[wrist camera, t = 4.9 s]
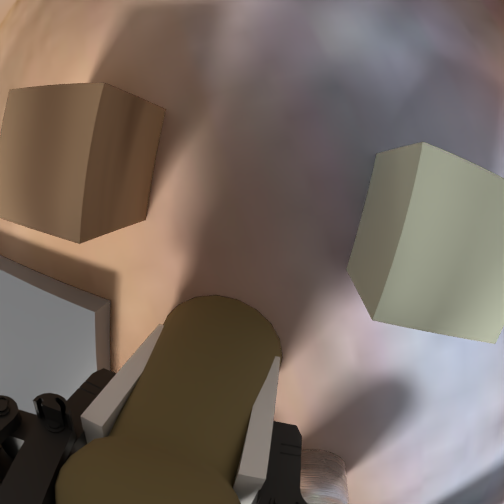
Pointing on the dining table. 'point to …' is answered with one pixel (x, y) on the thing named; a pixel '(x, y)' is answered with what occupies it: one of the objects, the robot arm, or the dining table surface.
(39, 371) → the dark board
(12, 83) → the dining table surface
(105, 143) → the walnut block
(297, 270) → the dining table surface
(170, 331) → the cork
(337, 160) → the dining table surface
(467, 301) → the sage block
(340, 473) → the metal tin
